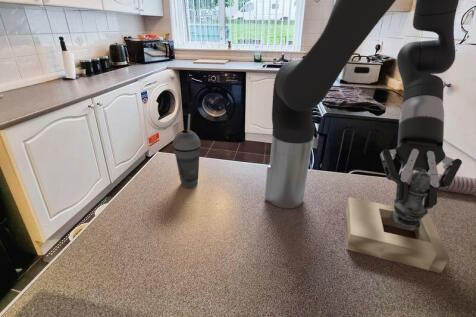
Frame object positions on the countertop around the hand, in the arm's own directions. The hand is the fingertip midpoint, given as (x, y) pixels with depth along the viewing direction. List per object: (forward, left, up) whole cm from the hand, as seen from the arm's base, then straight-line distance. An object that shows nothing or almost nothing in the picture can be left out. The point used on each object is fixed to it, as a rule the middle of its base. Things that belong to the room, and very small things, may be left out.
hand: (415, 205), depth 49 cm
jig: (-2, +1, -10) cm, 10 cm away
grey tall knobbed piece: (0, +2, -5) cm, 6 cm away
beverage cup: (-51, +5, -10) cm, 52 cm away
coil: (+15, +29, -11) cm, 34 cm away
